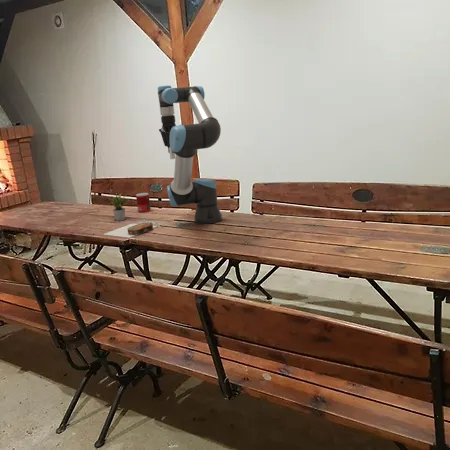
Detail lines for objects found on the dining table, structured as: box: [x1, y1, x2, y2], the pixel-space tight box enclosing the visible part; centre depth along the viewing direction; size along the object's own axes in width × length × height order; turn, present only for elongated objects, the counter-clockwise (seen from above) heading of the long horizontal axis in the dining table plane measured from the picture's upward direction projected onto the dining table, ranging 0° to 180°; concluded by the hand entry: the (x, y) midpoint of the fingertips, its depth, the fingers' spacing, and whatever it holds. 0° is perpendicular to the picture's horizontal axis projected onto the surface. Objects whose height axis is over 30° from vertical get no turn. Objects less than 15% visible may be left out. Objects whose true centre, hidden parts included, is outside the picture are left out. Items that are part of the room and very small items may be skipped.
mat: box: [102, 223, 158, 239], centre depth 244 cm, size 19×22×1 cm
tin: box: [127, 222, 154, 236], centre depth 240 cm, size 15×3×8 cm
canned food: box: [135, 192, 152, 213], centre depth 287 cm, size 8×8×11 cm
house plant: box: [107, 192, 131, 221], centre depth 269 cm, size 14×14×16 cm
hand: (172, 158), depth 254 cm, fingers closed
